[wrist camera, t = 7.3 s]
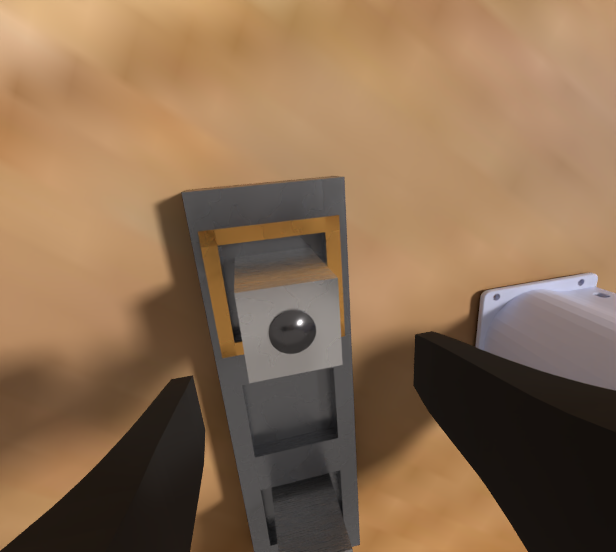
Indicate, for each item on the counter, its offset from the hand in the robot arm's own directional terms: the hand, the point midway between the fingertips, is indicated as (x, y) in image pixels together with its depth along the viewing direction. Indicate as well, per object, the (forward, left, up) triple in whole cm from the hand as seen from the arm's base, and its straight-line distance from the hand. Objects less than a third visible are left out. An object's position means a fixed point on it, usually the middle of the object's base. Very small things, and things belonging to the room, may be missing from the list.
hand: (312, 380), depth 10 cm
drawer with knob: (0, 0, -9) cm, 9 cm away
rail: (0, +8, -10) cm, 13 cm away
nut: (0, +17, -9) cm, 19 cm away
